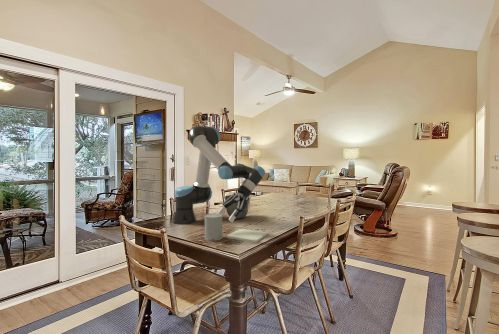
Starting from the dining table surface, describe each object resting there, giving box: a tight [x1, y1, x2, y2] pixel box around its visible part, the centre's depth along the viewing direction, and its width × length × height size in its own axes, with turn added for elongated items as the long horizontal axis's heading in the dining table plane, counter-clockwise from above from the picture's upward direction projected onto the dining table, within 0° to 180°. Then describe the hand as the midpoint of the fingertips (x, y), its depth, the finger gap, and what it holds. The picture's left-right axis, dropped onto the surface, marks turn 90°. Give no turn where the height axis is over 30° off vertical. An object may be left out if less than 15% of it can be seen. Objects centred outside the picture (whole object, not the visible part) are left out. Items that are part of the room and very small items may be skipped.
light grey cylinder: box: [204, 213, 223, 242], centre depth 149 cm, size 10×10×12 cm
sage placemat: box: [225, 228, 269, 243], centre depth 152 cm, size 18×16×1 cm
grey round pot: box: [224, 194, 250, 219], centre depth 196 cm, size 18×18×15 cm
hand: (223, 218), depth 151 cm, fingers open, 13 cm apart
